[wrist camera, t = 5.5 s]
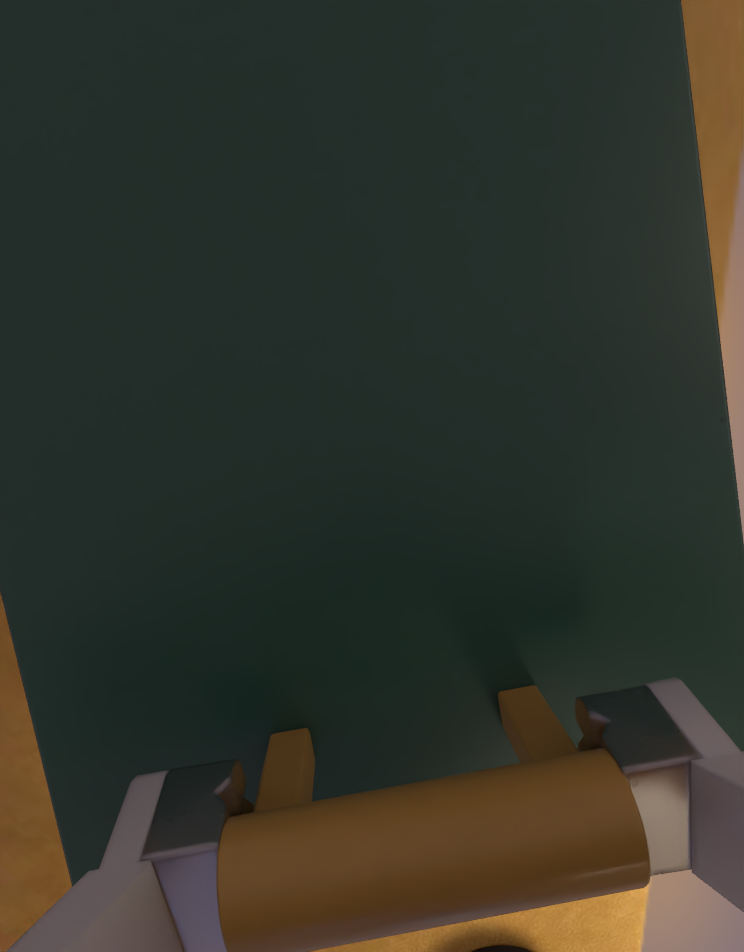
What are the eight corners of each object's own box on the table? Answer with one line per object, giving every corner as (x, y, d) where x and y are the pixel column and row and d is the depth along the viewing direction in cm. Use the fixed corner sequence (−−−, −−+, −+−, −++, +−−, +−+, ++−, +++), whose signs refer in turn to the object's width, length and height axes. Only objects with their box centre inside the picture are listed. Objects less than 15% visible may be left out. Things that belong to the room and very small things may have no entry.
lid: (745, 745, 13) (985, 950, 8) (90, 866, 13) (-69, 1155, 8) (633, -193, 11) (857, -657, 6) (-135, -68, 11) (-523, -445, 6)
